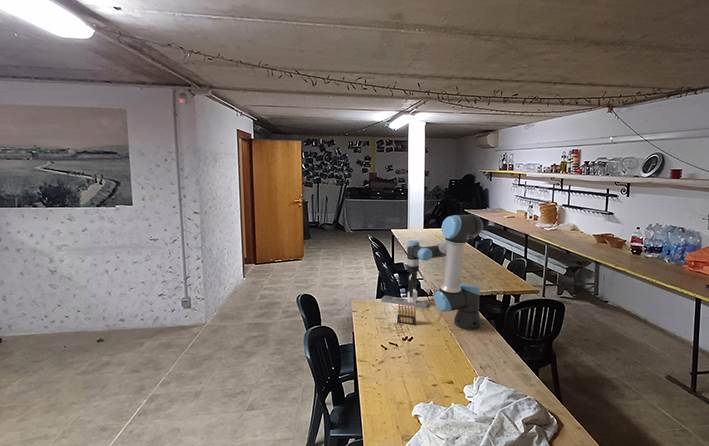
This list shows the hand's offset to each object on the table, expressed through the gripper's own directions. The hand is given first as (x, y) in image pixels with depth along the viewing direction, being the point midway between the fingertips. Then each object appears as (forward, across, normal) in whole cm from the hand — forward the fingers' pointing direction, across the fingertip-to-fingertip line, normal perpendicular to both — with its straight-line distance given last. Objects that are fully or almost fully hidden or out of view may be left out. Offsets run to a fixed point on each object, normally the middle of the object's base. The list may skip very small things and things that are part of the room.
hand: (412, 300), depth 253 cm
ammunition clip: (+4, +28, +5) cm, 29 cm away
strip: (+4, 0, +1) cm, 4 cm away
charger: (+2, 0, 0) cm, 2 cm away
